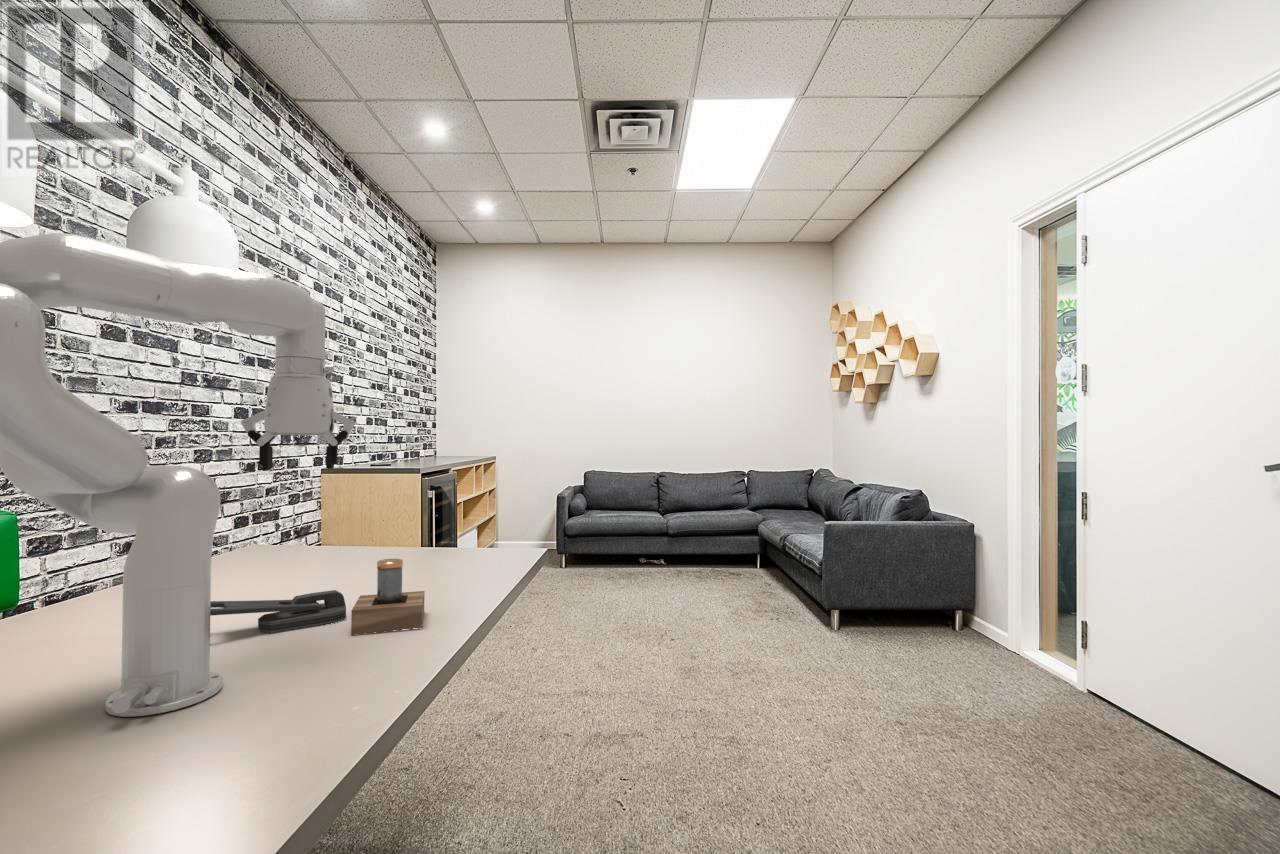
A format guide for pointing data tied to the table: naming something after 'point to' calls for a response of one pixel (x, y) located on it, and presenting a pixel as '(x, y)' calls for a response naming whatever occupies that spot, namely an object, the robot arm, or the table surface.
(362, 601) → the socket block
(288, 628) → the zipper pull
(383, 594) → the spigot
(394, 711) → the table surface
